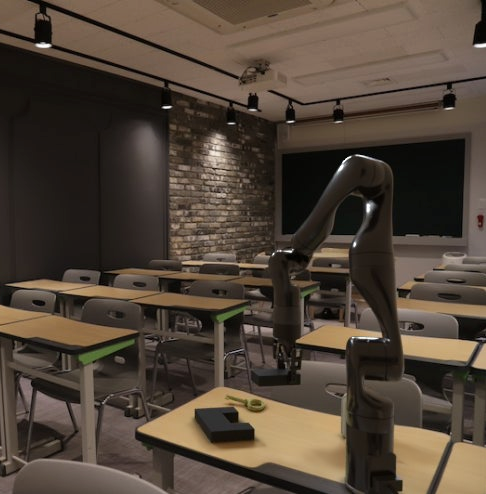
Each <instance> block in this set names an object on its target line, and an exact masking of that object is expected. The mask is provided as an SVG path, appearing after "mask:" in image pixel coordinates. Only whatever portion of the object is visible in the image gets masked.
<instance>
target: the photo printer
mask: <svg viewBox="0 0 486 494" xmlns="http://www.w3.org/2000/svg"><path fill="white" fill-rule="evenodd" d="M346 401H347V392H345V393H344V395H343V396H342V397H341V402H340V403H341V404H340V434H341V435H342V436H343V437H344V438H346Z"/></svg>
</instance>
